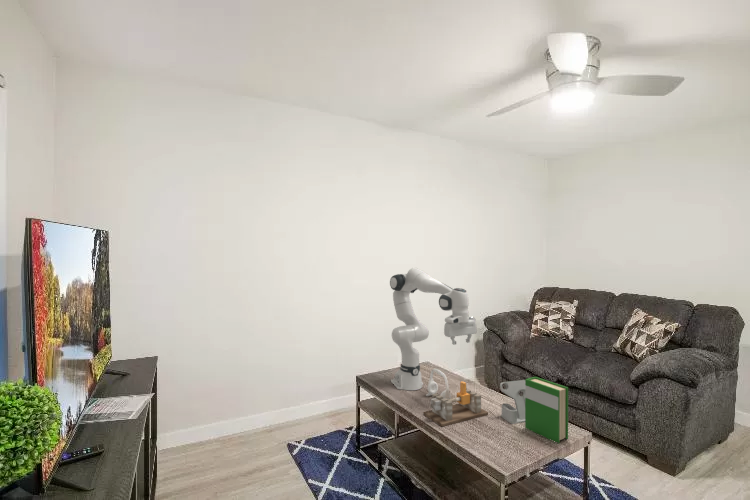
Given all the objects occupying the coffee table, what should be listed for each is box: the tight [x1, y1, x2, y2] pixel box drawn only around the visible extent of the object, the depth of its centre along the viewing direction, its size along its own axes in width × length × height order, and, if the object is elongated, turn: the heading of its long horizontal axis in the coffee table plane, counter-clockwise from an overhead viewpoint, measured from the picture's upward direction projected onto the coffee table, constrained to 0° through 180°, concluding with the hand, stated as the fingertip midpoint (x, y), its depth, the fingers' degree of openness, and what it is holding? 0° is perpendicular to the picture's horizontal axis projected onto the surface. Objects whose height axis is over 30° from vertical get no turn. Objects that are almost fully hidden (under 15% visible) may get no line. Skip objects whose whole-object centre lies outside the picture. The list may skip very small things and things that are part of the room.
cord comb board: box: [423, 387, 489, 428], centre depth 206 cm, size 16×30×10 cm, turn 117°
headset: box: [425, 368, 452, 399], centre depth 224 cm, size 20×7×18 cm, turn 20°
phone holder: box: [499, 379, 525, 424], centre depth 202 cm, size 17×10×18 cm, turn 105°
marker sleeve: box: [456, 380, 470, 405], centre depth 208 cm, size 5×5×11 cm
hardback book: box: [524, 376, 569, 444], centre depth 185 cm, size 18×7×24 cm, turn 31°
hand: (461, 343), depth 214 cm, fingers open, 8 cm apart
